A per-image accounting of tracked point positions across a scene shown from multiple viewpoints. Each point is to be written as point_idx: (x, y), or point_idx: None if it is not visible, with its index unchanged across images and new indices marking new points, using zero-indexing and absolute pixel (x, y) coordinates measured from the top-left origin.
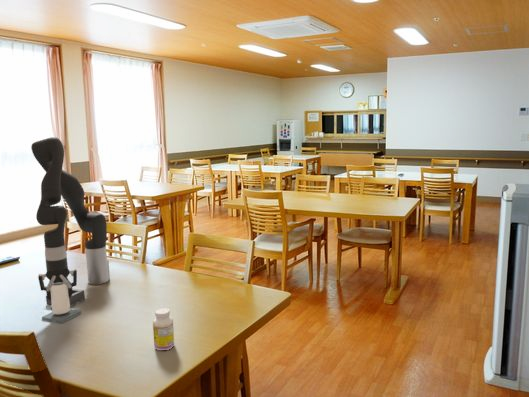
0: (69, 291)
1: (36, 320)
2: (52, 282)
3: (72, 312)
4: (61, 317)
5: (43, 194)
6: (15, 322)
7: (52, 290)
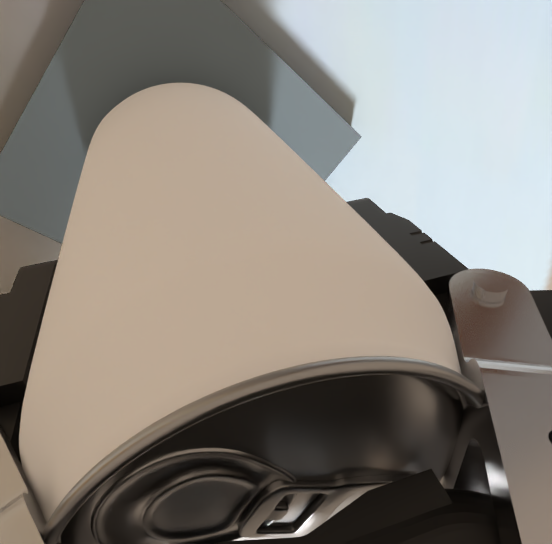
0: (7, 332)
1: (392, 123)
2: (536, 479)
3: (67, 178)
4: (160, 53)
5: None
6: (528, 129)
7: (396, 253)
